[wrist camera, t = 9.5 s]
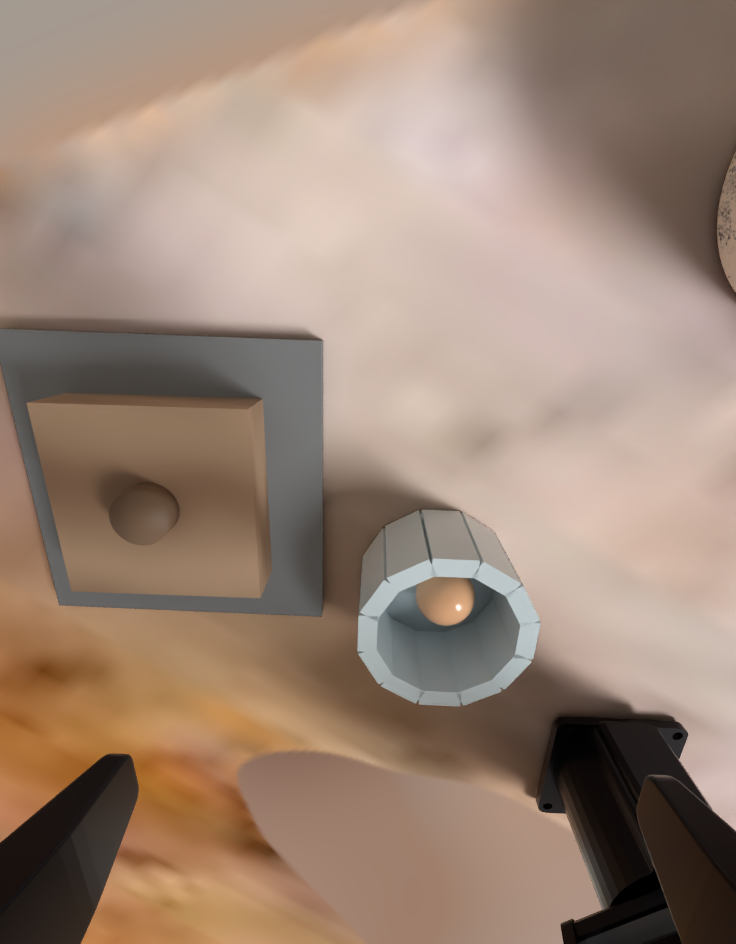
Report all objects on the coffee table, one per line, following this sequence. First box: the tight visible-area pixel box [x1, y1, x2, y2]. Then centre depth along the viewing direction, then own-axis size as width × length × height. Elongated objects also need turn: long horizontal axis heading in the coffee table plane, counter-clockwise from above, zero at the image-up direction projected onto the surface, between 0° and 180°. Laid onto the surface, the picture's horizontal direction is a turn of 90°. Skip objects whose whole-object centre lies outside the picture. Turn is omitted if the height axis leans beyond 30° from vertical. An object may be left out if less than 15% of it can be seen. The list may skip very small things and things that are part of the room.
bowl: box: [357, 509, 541, 707], centre depth 18 cm, size 6×6×4 cm
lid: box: [27, 393, 272, 598], centre depth 16 cm, size 8×8×3 cm
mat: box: [0, 328, 323, 617], centre depth 18 cm, size 12×12×1 cm
